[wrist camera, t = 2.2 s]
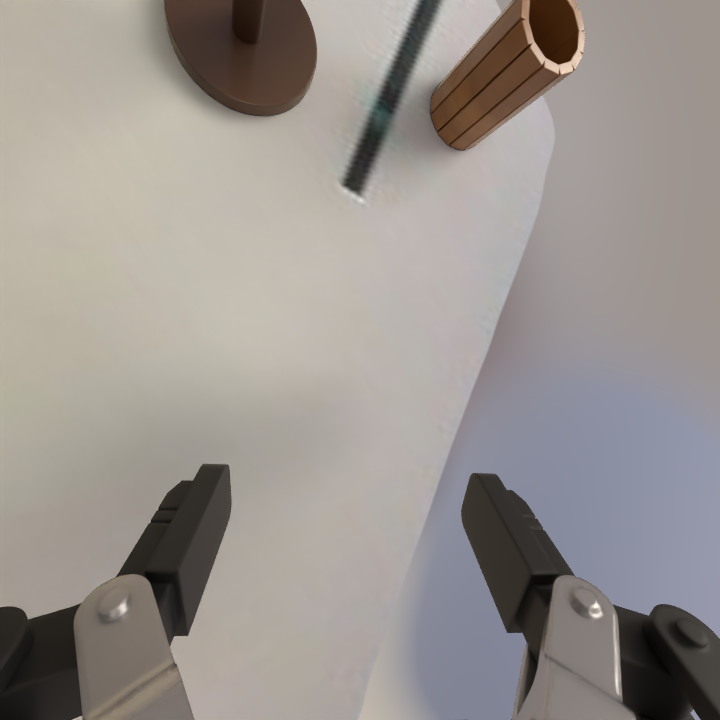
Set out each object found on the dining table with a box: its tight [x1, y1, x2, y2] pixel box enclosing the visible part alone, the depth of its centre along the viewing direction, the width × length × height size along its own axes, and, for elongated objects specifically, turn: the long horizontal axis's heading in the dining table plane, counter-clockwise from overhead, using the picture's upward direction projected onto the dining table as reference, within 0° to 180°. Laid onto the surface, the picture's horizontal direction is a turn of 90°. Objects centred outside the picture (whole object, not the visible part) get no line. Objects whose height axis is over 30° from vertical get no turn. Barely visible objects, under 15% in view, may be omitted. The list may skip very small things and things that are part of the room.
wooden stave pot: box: [430, 0, 585, 150], centre depth 27 cm, size 6×6×10 cm
